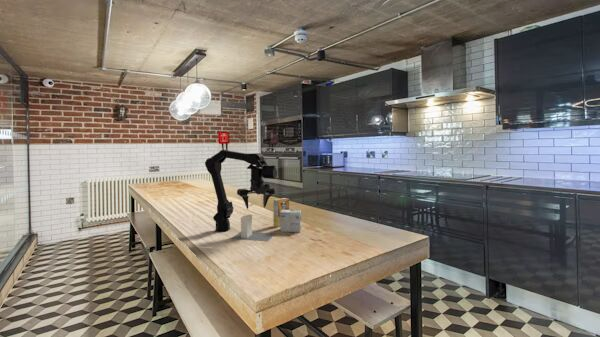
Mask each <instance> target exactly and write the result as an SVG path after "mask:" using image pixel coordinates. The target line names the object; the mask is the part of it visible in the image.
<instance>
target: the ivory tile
mask: <svg viewBox="0 0 600 337" xmlns="http://www.w3.org/2000/svg"><path fill="white" fill-rule="evenodd" d="M240 232H241V238H248V237H249V236H250V235H252V232H253V214H244V215H243V216H241V217H240Z"/></svg>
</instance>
